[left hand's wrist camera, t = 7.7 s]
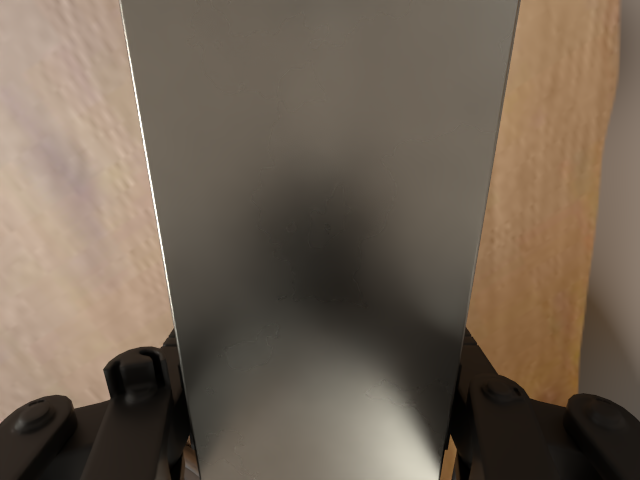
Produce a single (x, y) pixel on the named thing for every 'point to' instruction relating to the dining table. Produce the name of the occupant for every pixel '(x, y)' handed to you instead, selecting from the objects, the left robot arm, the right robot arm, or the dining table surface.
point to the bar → (319, 219)
